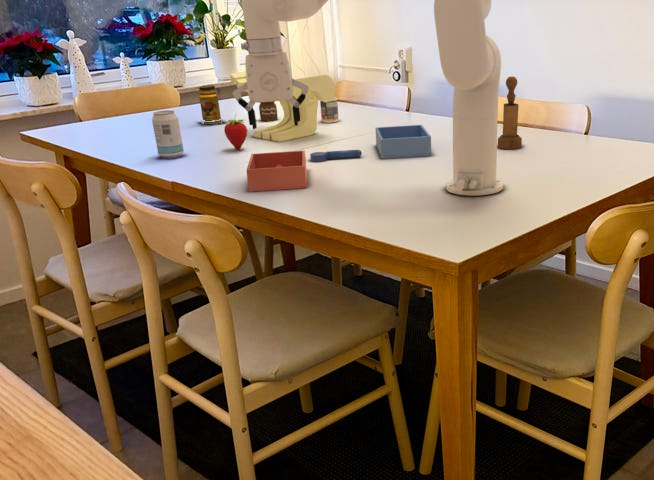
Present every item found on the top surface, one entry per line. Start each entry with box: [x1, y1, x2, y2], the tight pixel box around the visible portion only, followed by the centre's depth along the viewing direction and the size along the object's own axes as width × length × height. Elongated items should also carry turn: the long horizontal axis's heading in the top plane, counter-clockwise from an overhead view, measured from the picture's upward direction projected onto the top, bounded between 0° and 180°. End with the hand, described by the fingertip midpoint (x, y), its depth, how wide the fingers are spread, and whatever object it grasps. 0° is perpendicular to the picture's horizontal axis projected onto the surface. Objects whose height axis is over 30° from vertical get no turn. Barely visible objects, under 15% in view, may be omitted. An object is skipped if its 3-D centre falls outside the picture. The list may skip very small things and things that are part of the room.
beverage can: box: [151, 110, 185, 160], centre depth 204 cm, size 7×7×12 cm
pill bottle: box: [319, 96, 339, 124], centre depth 244 cm, size 6×6×10 cm
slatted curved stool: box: [229, 71, 336, 143], centre depth 225 cm, size 30×16×18 cm, turn 45°
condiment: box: [198, 85, 222, 125], centre depth 250 cm, size 7×8×12 cm
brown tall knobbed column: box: [497, 76, 523, 150], centre depth 197 cm, size 7×6×18 cm
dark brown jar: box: [258, 101, 279, 122], centre depth 251 cm, size 6×6×12 cm
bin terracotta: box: [246, 150, 308, 192], centre depth 177 cm, size 17×13×5 cm
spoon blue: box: [309, 149, 363, 163], centre depth 196 cm, size 14×4×2 cm, turn 96°
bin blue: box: [375, 124, 432, 160], centre depth 201 cm, size 17×13×5 cm
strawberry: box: [223, 114, 248, 151], centre depth 210 cm, size 6×8×10 cm
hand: (275, 126), depth 172 cm, fingers open, 9 cm apart
